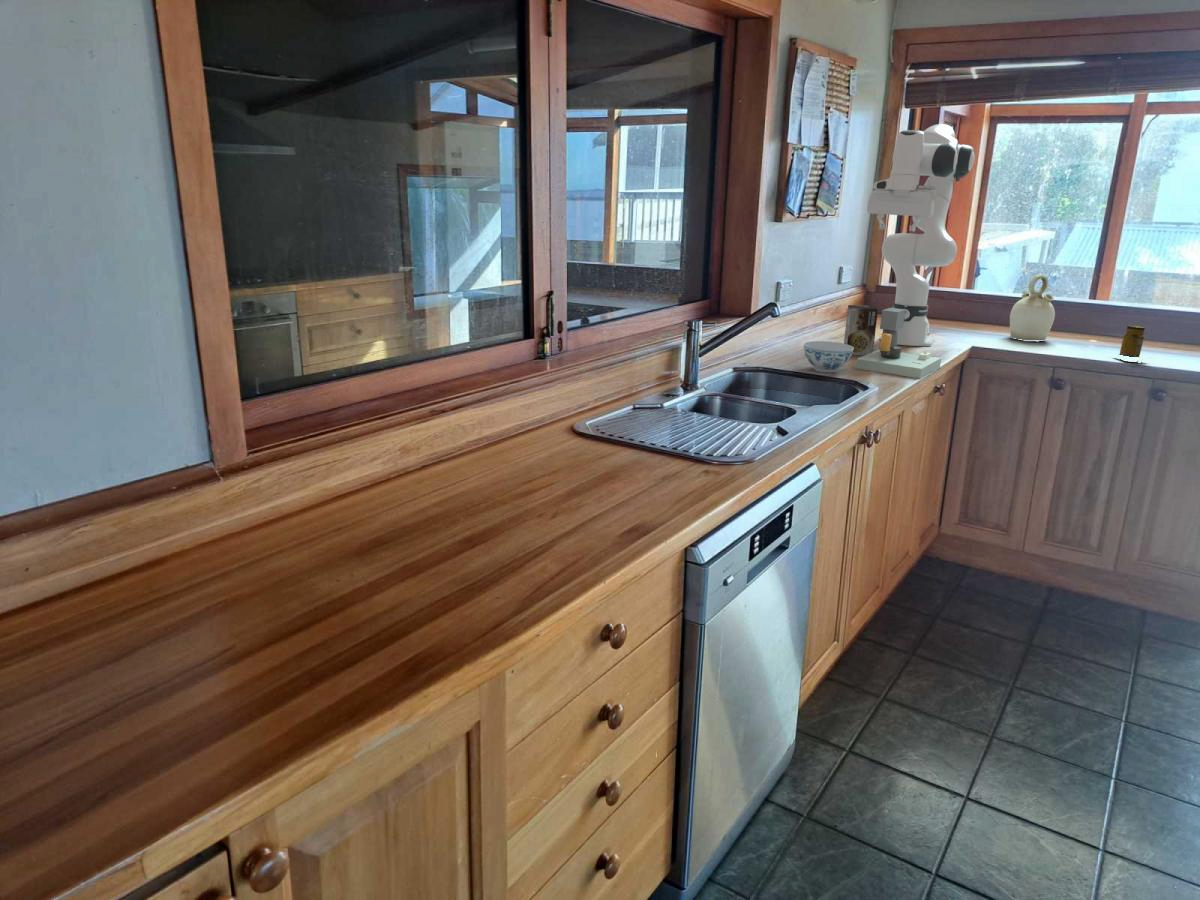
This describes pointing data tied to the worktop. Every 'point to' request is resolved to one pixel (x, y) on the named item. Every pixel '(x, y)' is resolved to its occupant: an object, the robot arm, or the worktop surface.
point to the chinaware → (827, 355)
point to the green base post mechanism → (907, 362)
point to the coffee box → (861, 328)
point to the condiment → (1132, 341)
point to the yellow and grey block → (889, 347)
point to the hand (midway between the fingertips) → (896, 230)
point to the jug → (1033, 313)
